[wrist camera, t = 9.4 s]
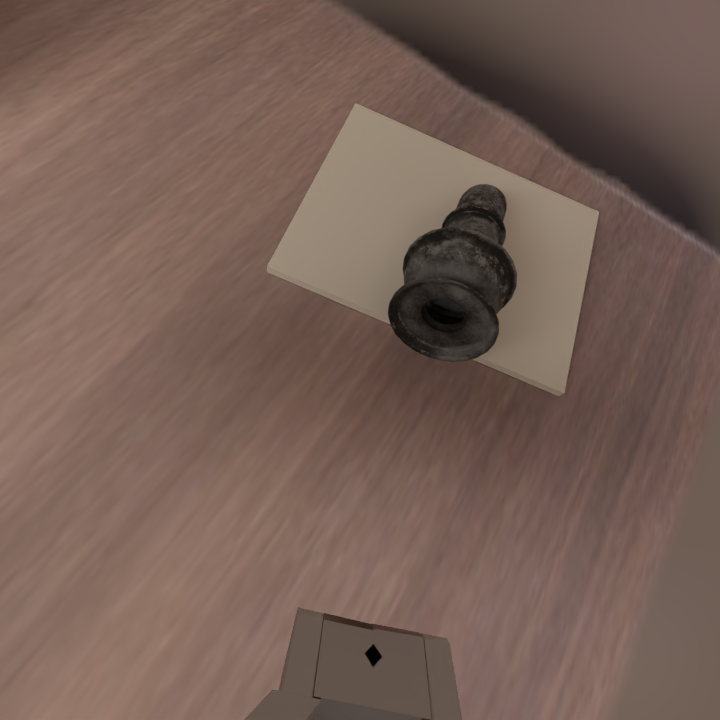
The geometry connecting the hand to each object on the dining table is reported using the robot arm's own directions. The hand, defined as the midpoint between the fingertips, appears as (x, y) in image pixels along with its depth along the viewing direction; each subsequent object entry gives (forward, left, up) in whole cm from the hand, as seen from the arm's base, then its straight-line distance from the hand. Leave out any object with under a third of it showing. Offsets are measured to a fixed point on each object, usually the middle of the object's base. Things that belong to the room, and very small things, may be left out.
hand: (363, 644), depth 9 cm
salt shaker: (+1, +12, -8) cm, 15 cm away
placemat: (+1, +21, -13) cm, 24 cm away
